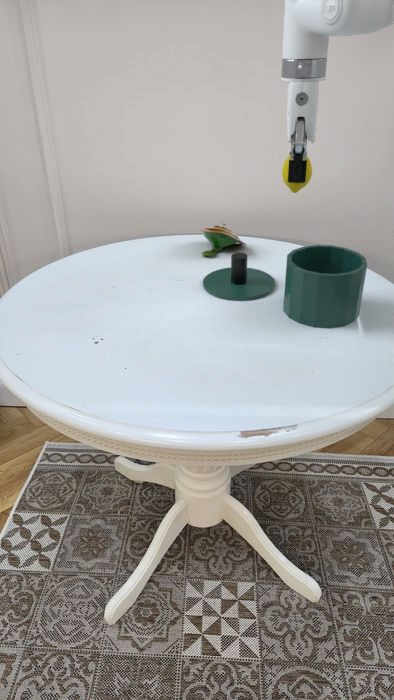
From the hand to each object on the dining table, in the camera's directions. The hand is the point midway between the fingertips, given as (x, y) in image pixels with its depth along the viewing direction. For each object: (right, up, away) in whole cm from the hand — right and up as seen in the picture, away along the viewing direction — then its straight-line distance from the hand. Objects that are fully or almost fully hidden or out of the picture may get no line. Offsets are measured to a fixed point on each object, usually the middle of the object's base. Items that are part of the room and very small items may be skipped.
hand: (296, 177), depth 101 cm
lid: (-10, -19, +8) cm, 23 cm away
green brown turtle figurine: (-13, -9, +25) cm, 30 cm away
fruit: (0, -3, +2) cm, 3 cm away
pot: (+4, -26, -2) cm, 26 cm away
